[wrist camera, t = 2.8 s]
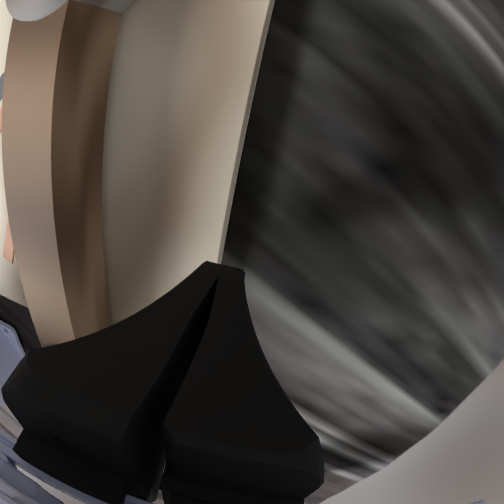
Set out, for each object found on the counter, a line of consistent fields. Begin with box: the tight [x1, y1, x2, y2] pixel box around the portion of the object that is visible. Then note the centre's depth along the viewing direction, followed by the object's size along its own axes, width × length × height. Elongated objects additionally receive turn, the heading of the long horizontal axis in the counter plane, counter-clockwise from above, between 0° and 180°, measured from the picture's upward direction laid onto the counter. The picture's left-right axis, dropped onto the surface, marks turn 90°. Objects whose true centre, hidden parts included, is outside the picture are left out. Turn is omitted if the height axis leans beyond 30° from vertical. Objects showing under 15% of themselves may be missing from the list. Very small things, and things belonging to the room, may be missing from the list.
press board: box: [0, 0, 275, 325], centre depth 11 cm, size 20×20×2 cm
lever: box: [2, 0, 134, 348], centre depth 9 cm, size 19×4×3 cm, turn 169°
